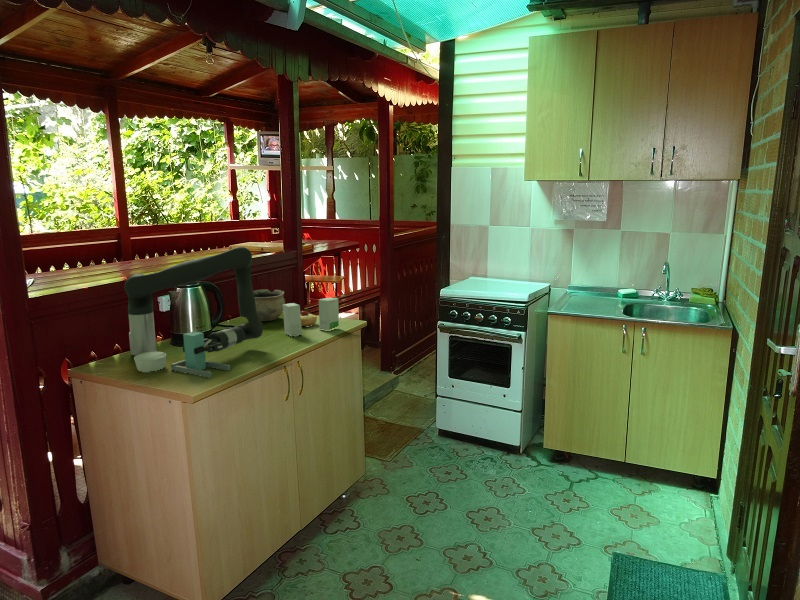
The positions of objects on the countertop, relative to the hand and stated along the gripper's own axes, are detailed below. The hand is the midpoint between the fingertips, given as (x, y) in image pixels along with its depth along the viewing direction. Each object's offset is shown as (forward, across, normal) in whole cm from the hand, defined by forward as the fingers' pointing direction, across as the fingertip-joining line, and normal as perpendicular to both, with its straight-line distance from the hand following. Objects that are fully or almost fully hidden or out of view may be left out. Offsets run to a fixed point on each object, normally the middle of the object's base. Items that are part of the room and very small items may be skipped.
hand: (189, 350), depth 196 cm
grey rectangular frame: (-3, +3, +8) cm, 9 cm away
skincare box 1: (-61, +1, +8) cm, 62 cm away
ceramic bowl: (-79, -31, +9) cm, 85 cm away
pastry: (-79, -5, +9) cm, 80 cm away
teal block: (-3, 0, +8) cm, 8 cm away
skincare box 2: (-77, +11, +8) cm, 78 cm away
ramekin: (+4, -16, +8) cm, 19 cm away
